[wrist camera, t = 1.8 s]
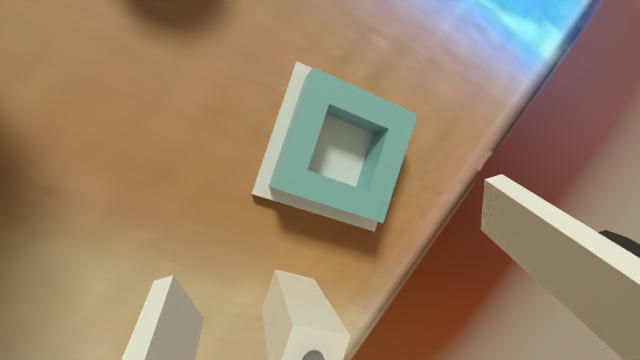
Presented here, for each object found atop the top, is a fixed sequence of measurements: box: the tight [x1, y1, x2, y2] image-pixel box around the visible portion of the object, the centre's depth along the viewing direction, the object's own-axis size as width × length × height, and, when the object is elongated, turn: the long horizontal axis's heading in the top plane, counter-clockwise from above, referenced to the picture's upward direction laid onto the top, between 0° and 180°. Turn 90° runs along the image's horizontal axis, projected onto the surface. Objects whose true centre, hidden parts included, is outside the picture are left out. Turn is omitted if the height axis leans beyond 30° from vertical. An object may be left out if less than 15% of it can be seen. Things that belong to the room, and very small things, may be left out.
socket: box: [252, 62, 418, 232], centre depth 29 cm, size 14×14×4 cm
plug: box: [262, 270, 350, 360], centre depth 24 cm, size 4×4×13 cm
